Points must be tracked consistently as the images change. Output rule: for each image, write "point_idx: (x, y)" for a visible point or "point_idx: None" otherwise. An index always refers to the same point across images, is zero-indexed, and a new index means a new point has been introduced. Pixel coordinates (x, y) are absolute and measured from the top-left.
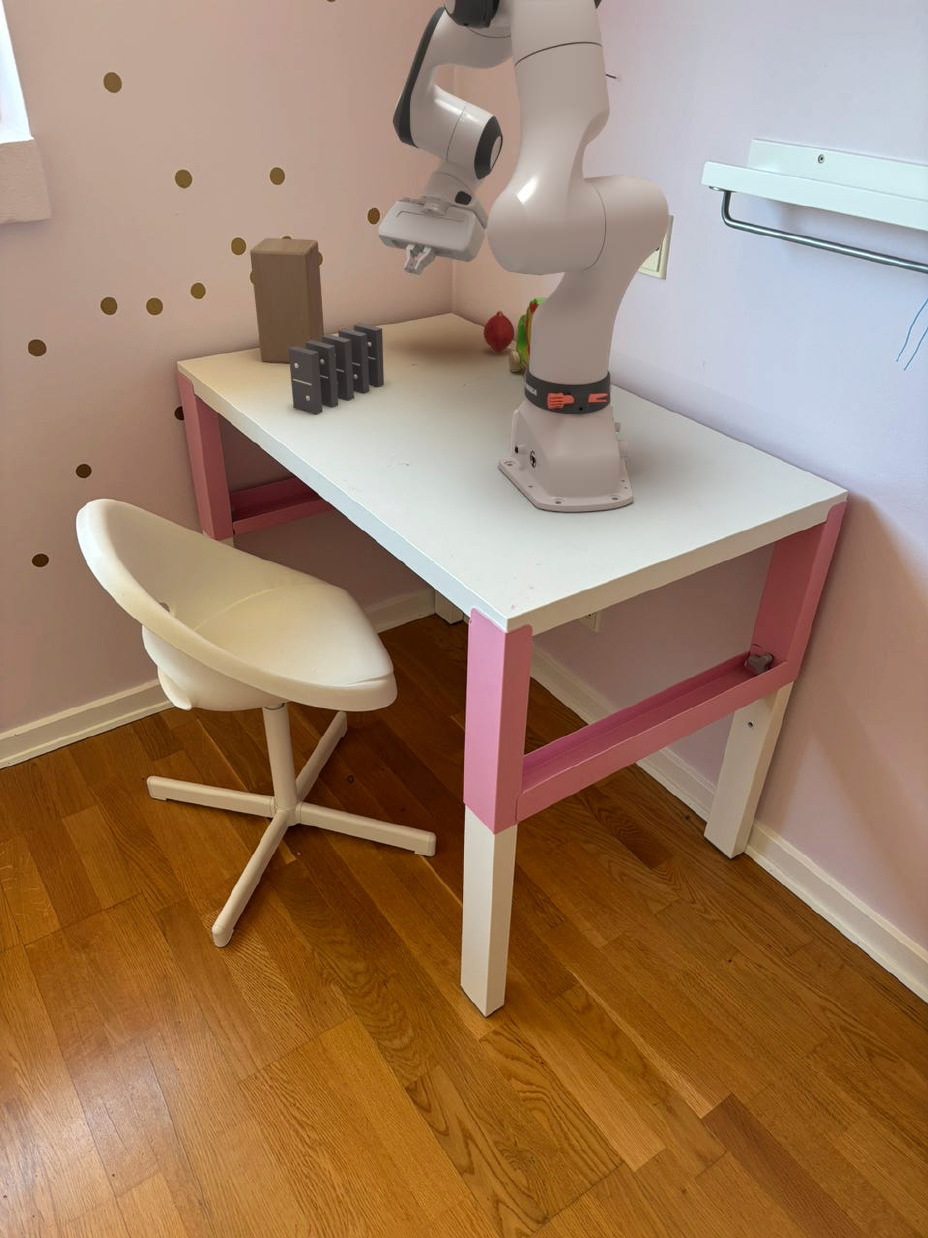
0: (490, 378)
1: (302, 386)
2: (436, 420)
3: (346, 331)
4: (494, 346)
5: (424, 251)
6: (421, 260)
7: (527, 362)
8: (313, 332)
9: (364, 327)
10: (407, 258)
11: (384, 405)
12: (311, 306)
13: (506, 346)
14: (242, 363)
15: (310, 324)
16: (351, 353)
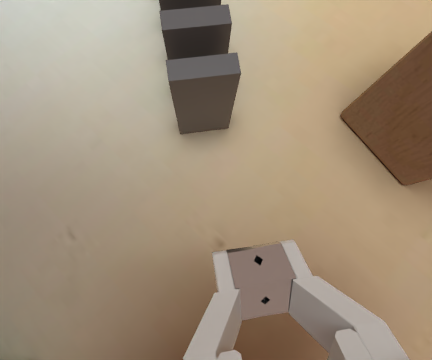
0: (55, 302)
1: None
2: (6, 87)
3: (210, 12)
4: None
5: (227, 356)
6: (212, 297)
7: None
8: (379, 101)
9: (204, 57)
10: (310, 275)
11: (112, 75)
12: (419, 69)
13: None
14: (412, 44)
15: (383, 78)
16: (160, 6)
